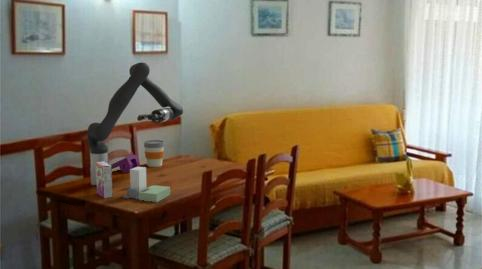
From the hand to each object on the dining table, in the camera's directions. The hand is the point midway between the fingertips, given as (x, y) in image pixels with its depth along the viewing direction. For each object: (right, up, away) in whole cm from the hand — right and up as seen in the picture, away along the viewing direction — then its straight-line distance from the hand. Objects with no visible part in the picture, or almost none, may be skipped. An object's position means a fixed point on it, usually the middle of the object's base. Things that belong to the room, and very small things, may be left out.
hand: (145, 119), depth 287 cm
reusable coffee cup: (-3, -28, +52) cm, 59 cm away
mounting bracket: (-21, -30, +39) cm, 54 cm away
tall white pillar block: (0, -39, -15) cm, 42 cm away
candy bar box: (-18, -39, -16) cm, 46 cm away
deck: (+4, -39, -17) cm, 43 cm away
